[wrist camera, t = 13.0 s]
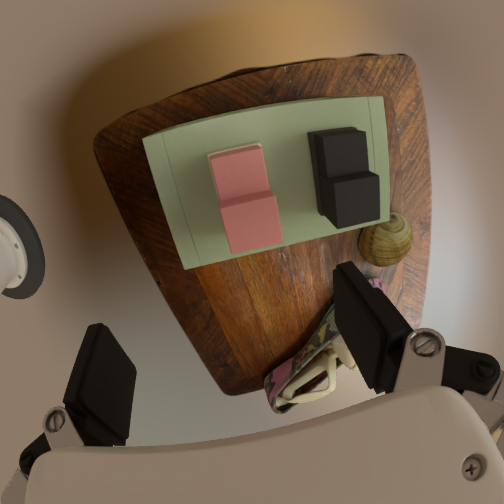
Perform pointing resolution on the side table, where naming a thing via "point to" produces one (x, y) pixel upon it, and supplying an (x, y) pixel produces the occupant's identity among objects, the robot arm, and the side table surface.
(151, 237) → the side table surface
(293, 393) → the ballet flat
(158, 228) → the side table surface
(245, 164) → the pink stepped block
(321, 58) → the side table surface
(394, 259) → the seashell
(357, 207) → the black stepped block
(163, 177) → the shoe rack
